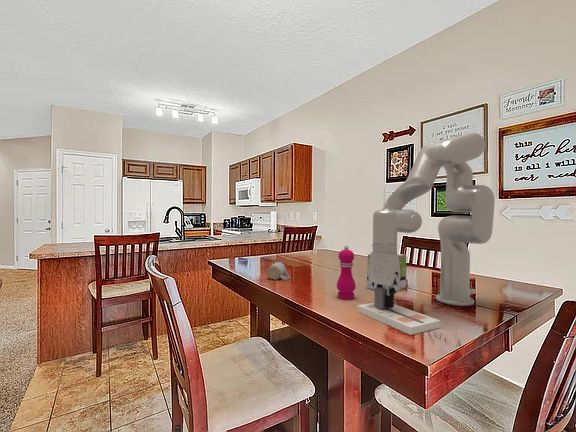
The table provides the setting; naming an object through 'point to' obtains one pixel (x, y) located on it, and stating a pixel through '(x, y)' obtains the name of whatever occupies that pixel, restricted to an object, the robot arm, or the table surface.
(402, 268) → the tea box
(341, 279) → the pepper mill
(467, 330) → the table surface
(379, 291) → the fader
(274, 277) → the ceramic mug
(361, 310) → the fader console
